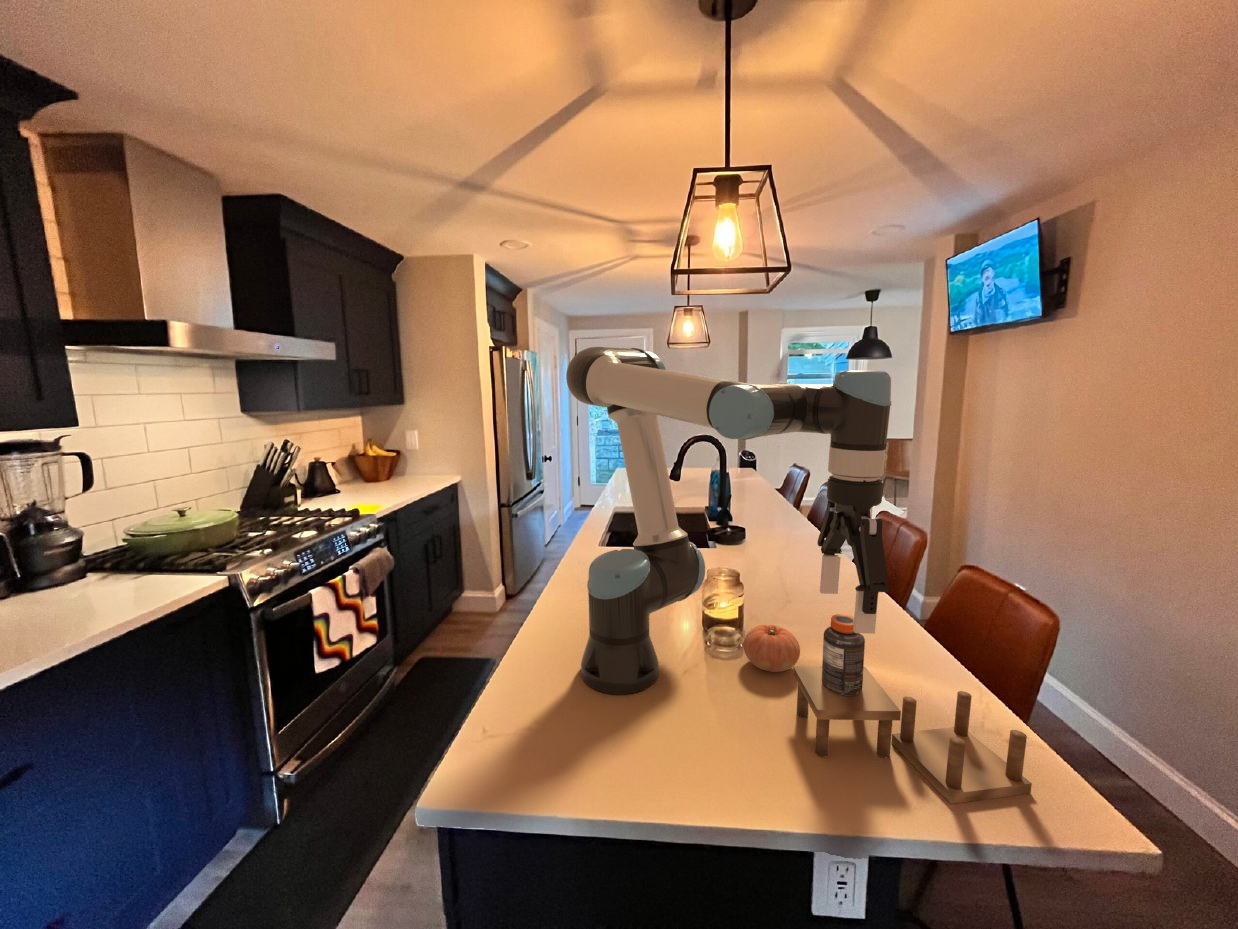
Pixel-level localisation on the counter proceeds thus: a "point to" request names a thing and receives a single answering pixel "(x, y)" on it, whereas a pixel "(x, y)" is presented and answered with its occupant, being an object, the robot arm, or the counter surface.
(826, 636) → the pill bottle
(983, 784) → the upturned stool
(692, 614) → the counter surface
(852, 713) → the stool
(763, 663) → the mini pumpkin
